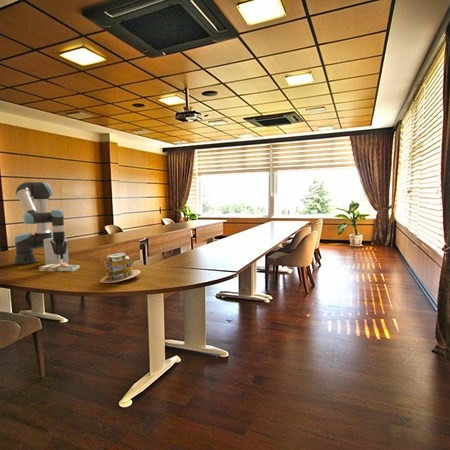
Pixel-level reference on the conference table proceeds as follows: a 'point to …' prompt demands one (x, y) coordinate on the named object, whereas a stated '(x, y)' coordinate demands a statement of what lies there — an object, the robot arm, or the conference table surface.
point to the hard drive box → (49, 253)
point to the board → (49, 267)
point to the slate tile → (70, 266)
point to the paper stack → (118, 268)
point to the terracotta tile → (64, 265)
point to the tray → (69, 269)
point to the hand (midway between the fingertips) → (60, 263)
